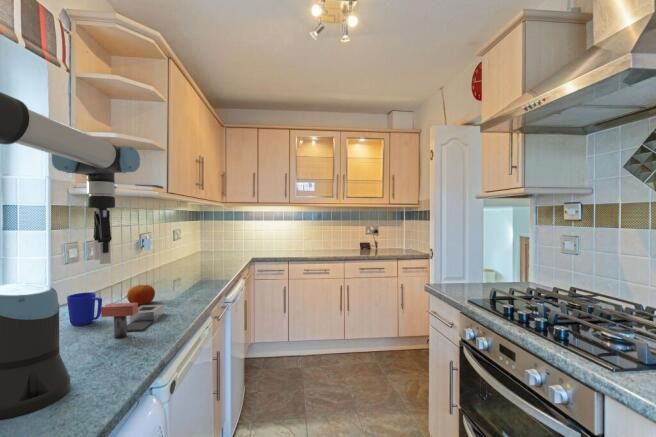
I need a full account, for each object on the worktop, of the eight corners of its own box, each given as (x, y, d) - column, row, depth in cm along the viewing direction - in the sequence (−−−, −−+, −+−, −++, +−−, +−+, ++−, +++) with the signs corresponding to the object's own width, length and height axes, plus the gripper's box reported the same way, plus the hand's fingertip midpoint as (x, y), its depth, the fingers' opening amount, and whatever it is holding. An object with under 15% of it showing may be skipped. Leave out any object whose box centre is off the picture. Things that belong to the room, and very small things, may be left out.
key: (133, 338, 107) (132, 305, 107) (101, 339, 106) (101, 307, 106) (138, 333, 111) (137, 302, 111) (108, 335, 110) (107, 303, 110)
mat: (143, 330, 114) (143, 329, 114) (120, 332, 113) (120, 330, 113) (153, 322, 123) (153, 320, 122) (132, 323, 122) (132, 321, 122)
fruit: (126, 303, 149) (126, 285, 148) (153, 300, 154) (153, 282, 154) (128, 309, 140) (127, 289, 139) (156, 305, 145) (156, 286, 145)
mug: (91, 328, 117) (90, 298, 117) (61, 326, 119) (60, 297, 119) (111, 320, 125) (110, 293, 125) (82, 319, 127) (82, 291, 127)
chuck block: (153, 321, 123) (153, 312, 123) (129, 323, 122) (129, 313, 122) (163, 313, 133) (163, 304, 133) (141, 314, 132) (141, 305, 132)
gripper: (121, 193, 105) (122, 264, 105) (109, 197, 124) (109, 257, 124) (91, 193, 100) (92, 266, 100) (83, 197, 120) (84, 259, 120)
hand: (102, 261), depth 112 cm, fingers open, 13 cm apart
